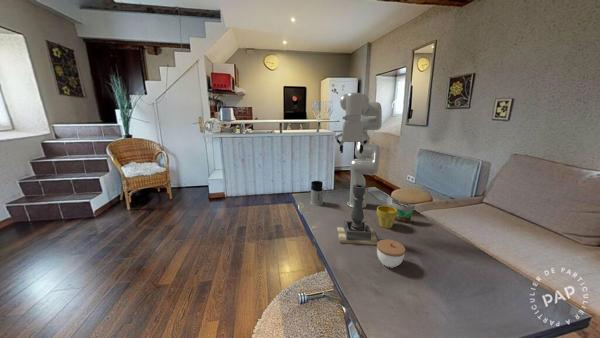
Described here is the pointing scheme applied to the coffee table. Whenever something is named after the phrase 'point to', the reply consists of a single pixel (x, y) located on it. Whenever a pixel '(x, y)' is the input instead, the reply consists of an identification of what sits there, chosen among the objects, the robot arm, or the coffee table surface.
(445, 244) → the coffee table surface
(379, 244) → the lidded jar
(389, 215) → the plant pot
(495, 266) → the coffee table surface
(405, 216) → the food container
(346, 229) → the socket board
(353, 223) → the candle holder
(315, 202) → the glass holder
